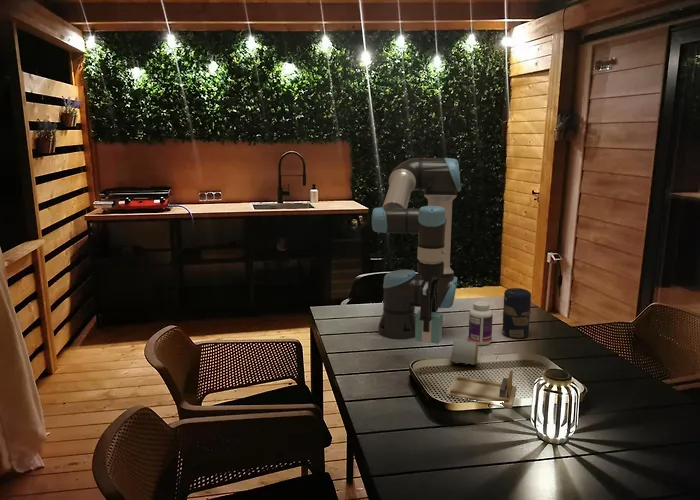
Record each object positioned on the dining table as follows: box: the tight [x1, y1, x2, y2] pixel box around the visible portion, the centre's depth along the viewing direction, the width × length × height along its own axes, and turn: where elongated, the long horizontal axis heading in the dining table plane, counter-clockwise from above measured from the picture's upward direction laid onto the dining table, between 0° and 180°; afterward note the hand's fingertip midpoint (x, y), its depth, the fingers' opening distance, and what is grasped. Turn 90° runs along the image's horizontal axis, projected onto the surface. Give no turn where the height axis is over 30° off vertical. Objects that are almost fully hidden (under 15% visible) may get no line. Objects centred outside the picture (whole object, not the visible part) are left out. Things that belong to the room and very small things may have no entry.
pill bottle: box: [468, 300, 494, 346], centre depth 196 cm, size 8×8×14 cm
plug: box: [414, 309, 444, 345], centre depth 161 cm, size 7×4×8 cm, turn 68°
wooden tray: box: [445, 370, 517, 409], centre depth 158 cm, size 18×12×7 cm, turn 68°
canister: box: [501, 287, 532, 339], centre depth 203 cm, size 10×10×18 cm
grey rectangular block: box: [451, 338, 479, 366], centre depth 181 cm, size 11×8×8 cm
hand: (428, 338), depth 162 cm, fingers closed on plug, 4 cm apart
